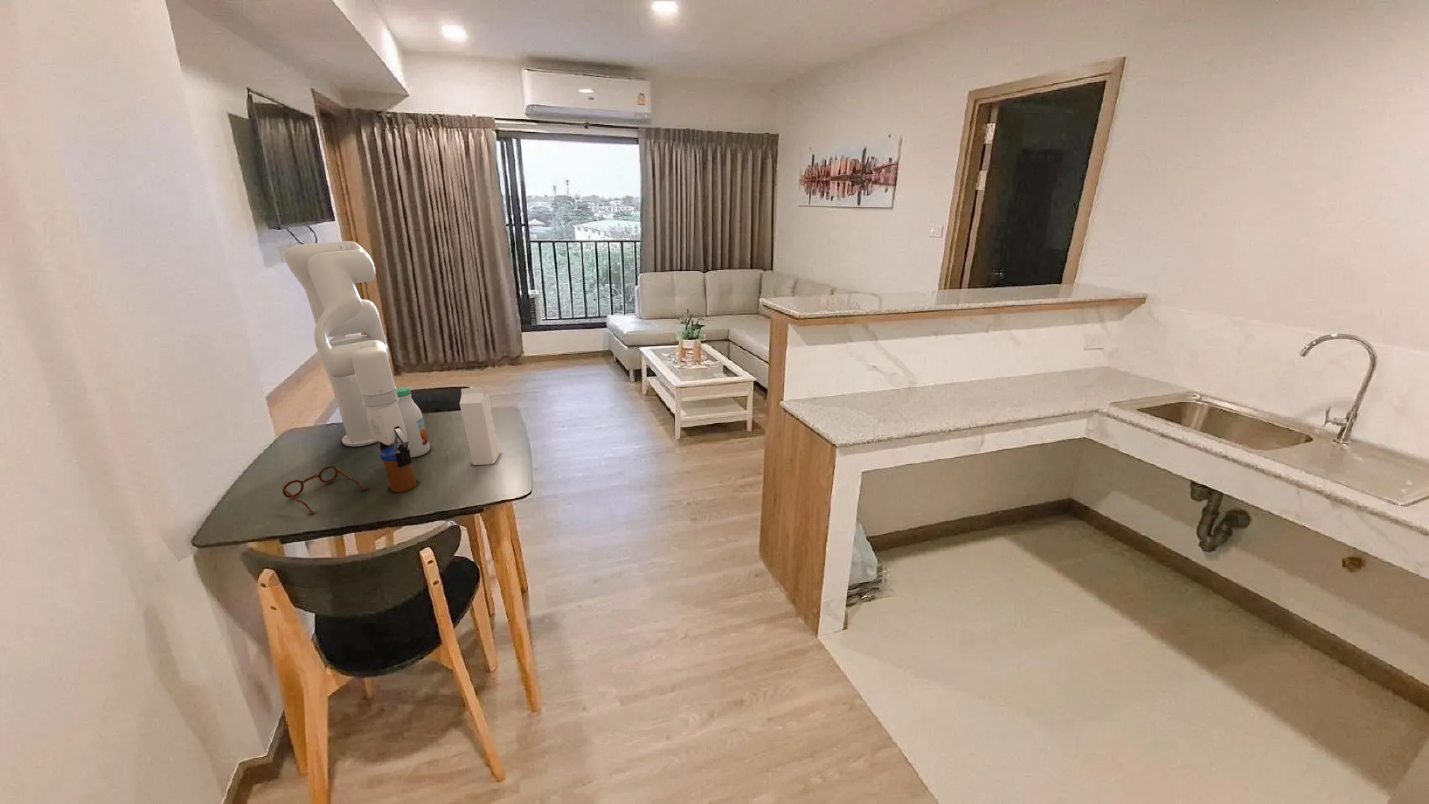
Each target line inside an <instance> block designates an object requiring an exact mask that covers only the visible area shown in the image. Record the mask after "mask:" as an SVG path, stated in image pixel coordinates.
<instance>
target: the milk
mask: <svg viewBox="0 0 1429 804" xmlns="http://www.w3.org/2000/svg"><path fill="white" fill-rule="evenodd" d="M460 392H461V393H460V394H461V396H460V401H459V407H460V412H461V417H462V422H463V426H464V432H465V436H466V440H467V446H468V450H469V455H470V461H471V464H472V465H471V466H482V465H494V464H495V463H496V462H497V460H498V458H499V456H500V449H499V444H498V439H497V434H496V429H495V423H494V418H493V417H494V416H493V413H492V408H491V403H490V396H489V394H488V393H486V392H485V389H484V388H483V387H467V388H461V389H460Z"/></svg>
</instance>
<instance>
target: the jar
mask: <svg viewBox="0 0 1429 804" xmlns="http://www.w3.org/2000/svg"><path fill="white" fill-rule="evenodd" d="M382 461H383V465H384V469H385V472H386V475H387V479H388V483H389V486H390V490H391V491H392V492H393V493H403V492H407V491H409V490H411V489H413V488H415V487H416V486H417V483H418V482H417V479H416V475H415V471H414V467H413V462H412V463H411V464H409V465H406V466H404V467H401V468H400V467H398V464H397V460H395V461H384V460H382Z"/></svg>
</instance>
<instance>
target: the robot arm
mask: <svg viewBox="0 0 1429 804" xmlns="http://www.w3.org/2000/svg"><path fill="white" fill-rule="evenodd" d="M284 258H285V261H286V265H287V267H288V268H289V270H290V271H291V274H292V275H293V276H294V277H295V278H296V280H297V281H298V282H299V284H300V285H301V286H302V288H303V289H304V291H305V293H306V296H307V300H308V303H309V306H310V310H311V313H312V317H313V319H314V320H313V321H314V322H315V326H314V327H315V328H314V332H313V334H314V335H313V339H314V344H315V348H316V351H317V353H318V357H319V361H320V362H321V365H322V366H323V368H324V371H325V372H326V374H327V377H328V380H329V382H330V385H331V389H332V391H333V394H334V398H335V401H336V404H337V407H338V411H339V414H340V417H341V420H342V425H343V428H344V430H345V435H344V436H343V437H341V438H342V439H341V441H342V444H343V445H344V446H347V447H352V448H353V447H354V448H355V447H364V446H369V445H373V444H375V443H378V446H379V449H380V452H381V451H382V450H383V449H385V448H387V447H389V446H393V447H394V449H395V451H396V453H395V457H396V460H397V464H398V467H400V468H401V467H404V466H406V465H409V464H411V463H412V464H413V461H412V457H410V453H409V447H408V446H409V445H408V443H409V441H408V439H407V433H406V428H405V425H404V421H403V418H402V415H401V412H400V409H399V407H398V404H397V402H398V401H399V398H398V394H397V390H396V388H397V387H396V383H395V379H394V375H393V372H392V367H391V364H390V363H391V362H390V361H391V355H390V350H389V347H388V344H387V343H388V342H387V340H386V339H387V338H386V335H385V331H384V328H383V324H382V320H381V316H380V313H379V311H378V308H377V306H375V304H374V303H373V301H371V300H368V299H365V298H364V299H361V297H360V294H359V292H358V290H357V287H356V285H355V284H359V283H368V282H373V280H375V278H376V267H375V264H374V261H373V259H372V258H371V256H370V254H369V253H368V252H367V251H366V250H365V249H364V248H363V247H362V246H361V245H360V244H358V243H357V242H355V241H353V240H343V241H342V240H341V241H330V242H329V241H327V242H314V243H313V242H312V243H303V244H296V245H293V246H290V247H288V248H287V249H286V250H285V252H284ZM361 333H364V334H365V335H362V336H356V337H350V338H344V339H338V340H334V341H331V342H330V341H329V338H335V337H341V336H342V337H343V336H348V335H355V334H361ZM397 438H399V440H398V439H397ZM400 442H401V445H399V448H398V446H397V445H398V444H399V443H400Z"/></svg>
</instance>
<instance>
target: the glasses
mask: <svg viewBox="0 0 1429 804" xmlns="http://www.w3.org/2000/svg"><path fill="white" fill-rule="evenodd" d="M329 469H334V475H333V476H332V477H331V478H329V479H326V480H325V479H323V477H322V475H323V473H324V472H325V471H327V470H329ZM339 474H340V475H342V476H343V477H345V478H346V479H347V480H348V481H349V480H350V481H352V482H354V483H355V484H356V485H357V486H358V487H359V488H360V489H361V490H363V491H365V490H366V487H364V486H363V485H362V484H361V483H360V482H359V481H358V480H357V479H355V478H354V477H351V476H349V475H348V474H346V473H345V472H344V471H342V470H341V469H339V468H338V467H337V466H335V465H327V466H324V467H322V469H321V470H320V471H319V472H318V474H314V475H311V476H310V477H307V478H305V479H303V480H301V479H293V480H290V481H288V482H287V483H286V484H284V486H283V487H282V491H281V492H282V495H283V496H284V497H285V498H287V499H291V498H292V499H293V500H294V501H295V502H297V503H300V504H301V505H303V506H304V507H305V508H306V509H307V511H309V512H310V513H311V515H314V511H313V510H312V509H311V508H310V506H309V505H308V504H307V502H305V501H303V500H302V499H299V498H298V496H299V495H300V494H302V492H303V491H304V488H305V483H306V482H308V481H311V480H313V479H316V478H318V479H319V481H320V482H321V483H324V484H327V483H330V482H332V481H334V480H336V479H337V477H338V476H339ZM294 483H295V484H296V483H299V485H300V488H299V490H298V491H297V492H295V493H294V494H292V493H291V492H290V491H288V490H287V488H288V487H289V486H290V485H291V484H294Z"/></svg>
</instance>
